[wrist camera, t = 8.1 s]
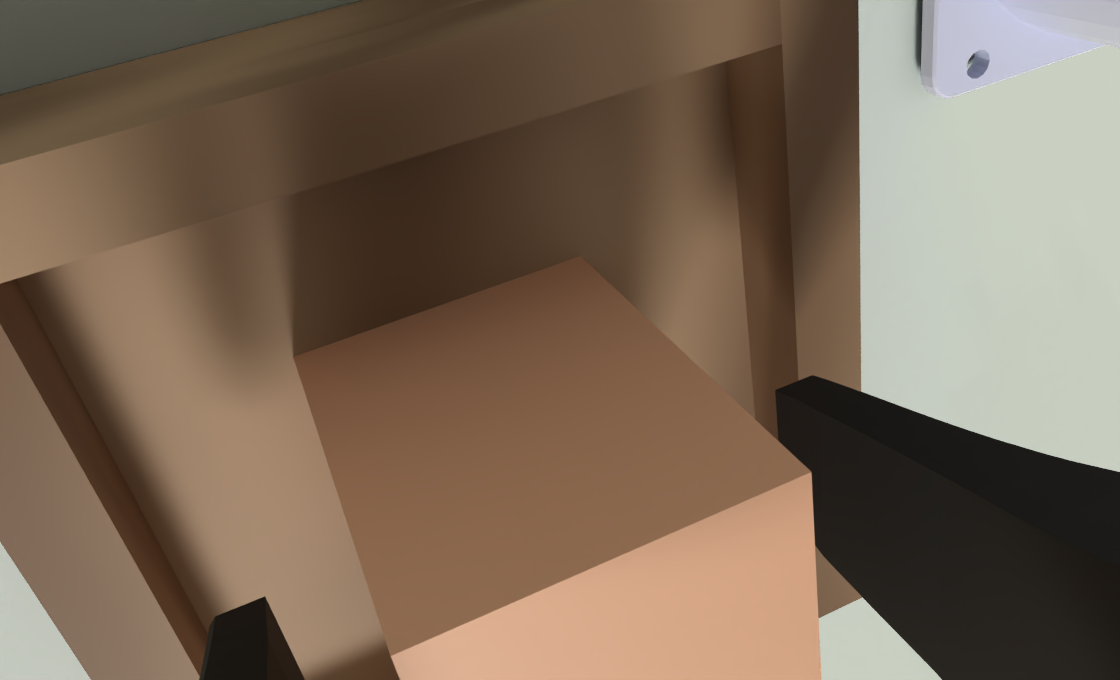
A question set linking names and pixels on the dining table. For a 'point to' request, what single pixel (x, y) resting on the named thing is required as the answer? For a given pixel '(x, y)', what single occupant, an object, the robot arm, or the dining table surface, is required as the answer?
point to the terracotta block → (563, 495)
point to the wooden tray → (379, 270)
